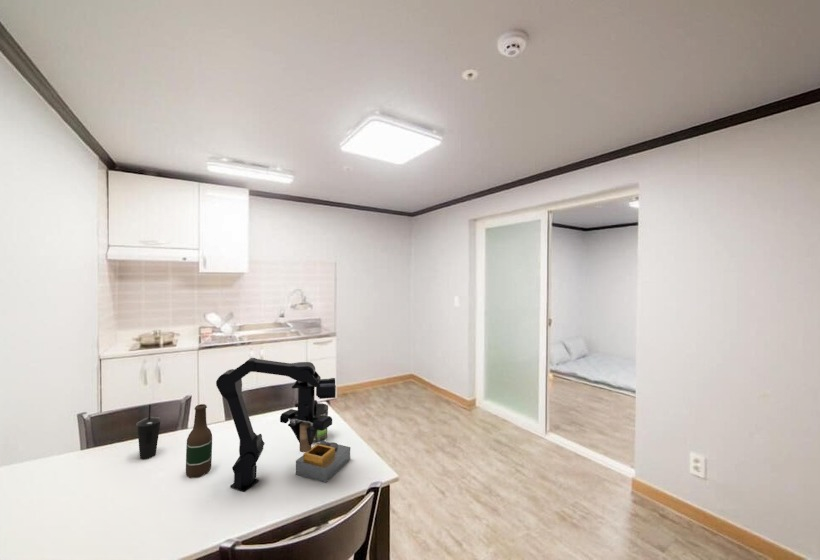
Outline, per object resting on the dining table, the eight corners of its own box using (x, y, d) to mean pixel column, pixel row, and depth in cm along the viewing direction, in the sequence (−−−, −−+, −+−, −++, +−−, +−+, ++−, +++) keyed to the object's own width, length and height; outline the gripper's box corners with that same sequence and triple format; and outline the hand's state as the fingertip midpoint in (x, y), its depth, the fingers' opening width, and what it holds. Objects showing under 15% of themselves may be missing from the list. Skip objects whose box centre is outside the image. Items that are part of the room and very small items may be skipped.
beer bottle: (198, 480, 112) (200, 410, 112) (179, 476, 113) (182, 408, 113) (216, 467, 119) (218, 402, 120) (198, 464, 121) (200, 400, 121)
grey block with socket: (325, 483, 111) (326, 461, 111) (295, 474, 116) (296, 453, 116) (350, 459, 126) (350, 440, 126) (322, 453, 131) (322, 434, 131)
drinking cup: (165, 451, 129) (167, 401, 130) (148, 462, 122) (149, 409, 122) (147, 450, 130) (149, 400, 130) (129, 460, 122) (131, 408, 123)
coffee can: (332, 438, 144) (333, 406, 144) (312, 447, 136) (313, 413, 136) (317, 431, 150) (318, 401, 150) (298, 439, 142) (299, 407, 142)
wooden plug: (306, 453, 111) (306, 427, 111) (297, 451, 112) (297, 425, 113) (313, 447, 115) (314, 422, 115) (304, 445, 116) (305, 420, 116)
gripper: (341, 395, 118) (341, 438, 118) (300, 389, 125) (300, 429, 125) (322, 406, 108) (322, 453, 107) (279, 398, 114) (278, 442, 114)
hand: (305, 443), depth 114 cm, fingers closed on wooden plug, 4 cm apart
